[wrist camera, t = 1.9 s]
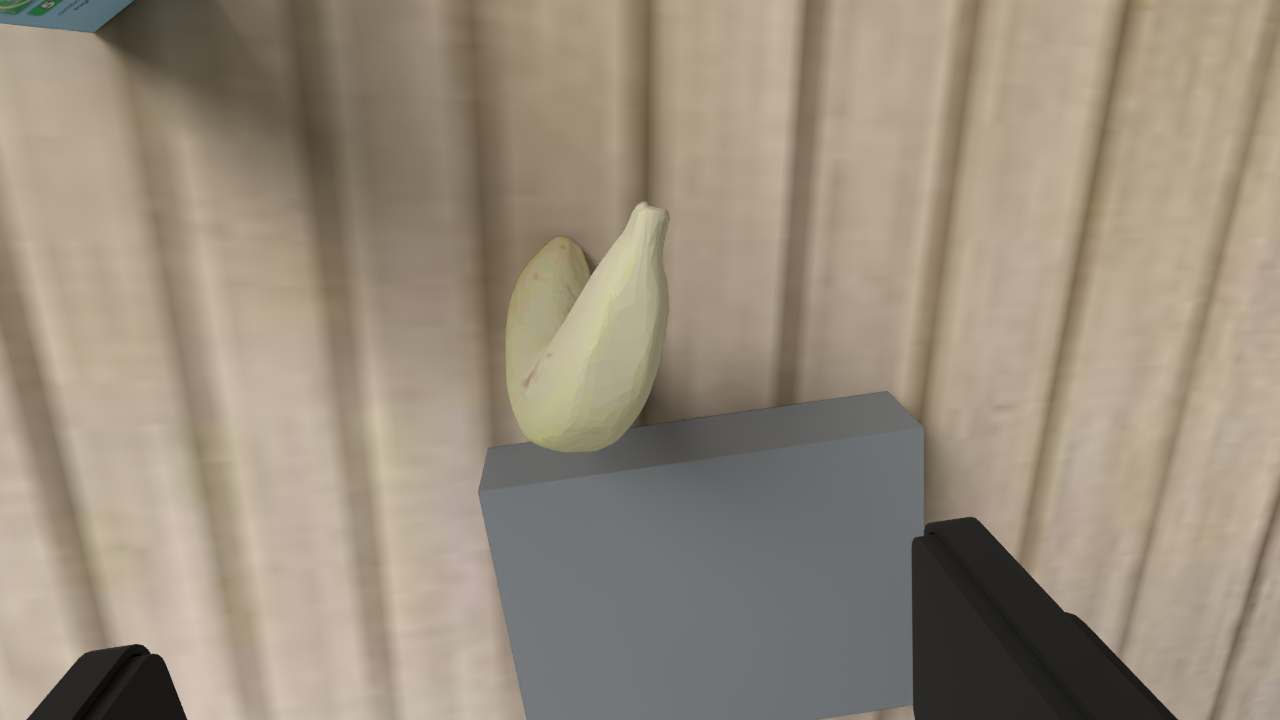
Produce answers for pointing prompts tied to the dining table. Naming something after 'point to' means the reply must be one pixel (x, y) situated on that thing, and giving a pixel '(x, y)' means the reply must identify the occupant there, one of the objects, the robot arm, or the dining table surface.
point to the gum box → (61, 13)
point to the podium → (714, 565)
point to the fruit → (588, 337)
